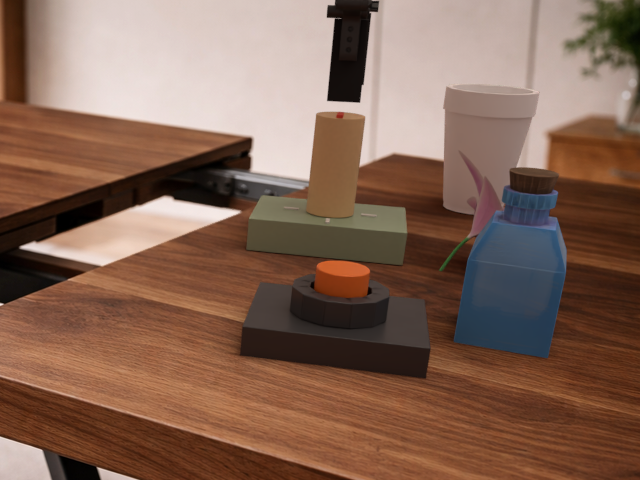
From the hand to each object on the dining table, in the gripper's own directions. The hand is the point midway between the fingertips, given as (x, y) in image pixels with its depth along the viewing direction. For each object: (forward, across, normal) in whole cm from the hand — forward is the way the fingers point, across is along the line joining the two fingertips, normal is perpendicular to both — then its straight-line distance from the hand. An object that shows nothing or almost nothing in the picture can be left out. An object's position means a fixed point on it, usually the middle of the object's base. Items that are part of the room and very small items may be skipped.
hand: (346, 92), depth 85 cm
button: (+10, -26, -2) cm, 28 cm away
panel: (+14, 0, 0) cm, 14 cm away
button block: (+14, -26, -2) cm, 30 cm away
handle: (+11, 0, 0) cm, 11 cm away
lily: (+14, -4, -14) cm, 20 cm away
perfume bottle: (+14, -21, -13) cm, 29 cm away
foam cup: (+14, +21, -14) cm, 29 cm away
